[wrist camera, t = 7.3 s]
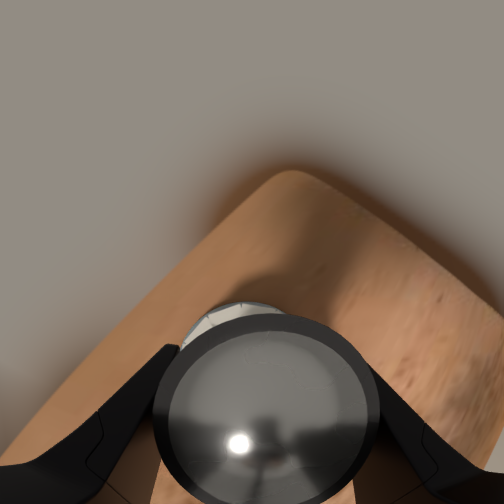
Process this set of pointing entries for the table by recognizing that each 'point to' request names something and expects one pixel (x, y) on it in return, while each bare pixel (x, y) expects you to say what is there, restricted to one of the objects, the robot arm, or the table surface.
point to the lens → (266, 412)
